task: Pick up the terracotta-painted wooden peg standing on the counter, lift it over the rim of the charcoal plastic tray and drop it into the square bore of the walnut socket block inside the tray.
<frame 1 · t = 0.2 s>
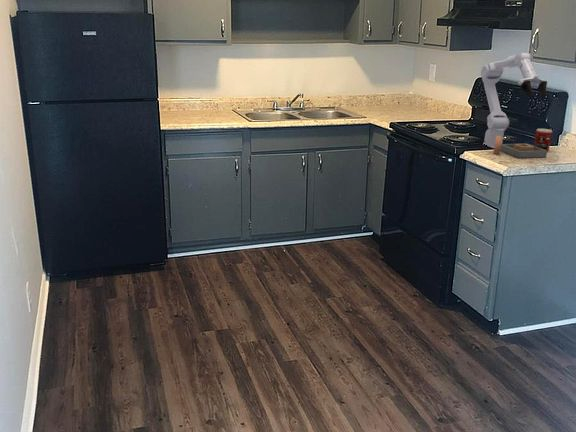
hand: (538, 96, 279), 31 cm above the worktop, tool tilted 45°, fingers open, 7 cm apart
peg: (496, 154, 297), on the worktop
canned food: (540, 150, 309), on the worktop
tray: (522, 154, 299), on the worktop
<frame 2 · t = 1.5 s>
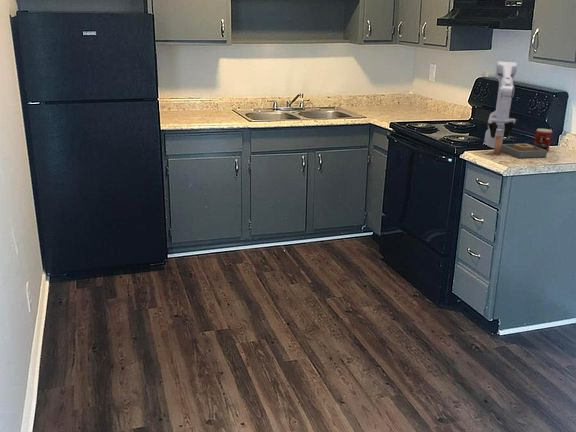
hand: (499, 137, 294), 9 cm above the worktop, tool pointing down, fingers open, 7 cm apart
nothing on the worktop moved.
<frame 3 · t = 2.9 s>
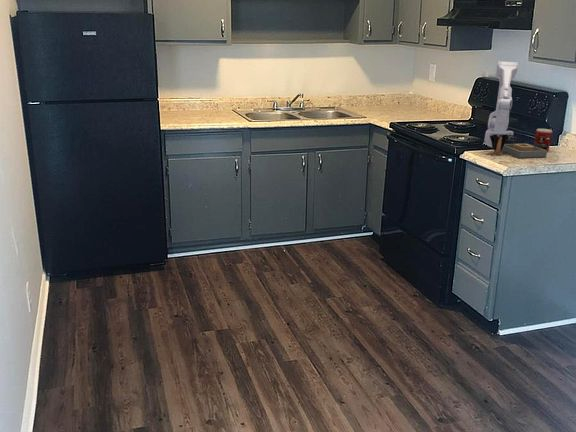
hand: (497, 149, 296), 2 cm above the worktop, tool pointing down, fingers closed on peg, 3 cm apart
peg: (496, 154, 297), on the worktop, touching gripper
everything else where it was.
when the fingers open (6 cm above the worktop, at t = 6.2 s): peg drops 3 cm, resting on tray.
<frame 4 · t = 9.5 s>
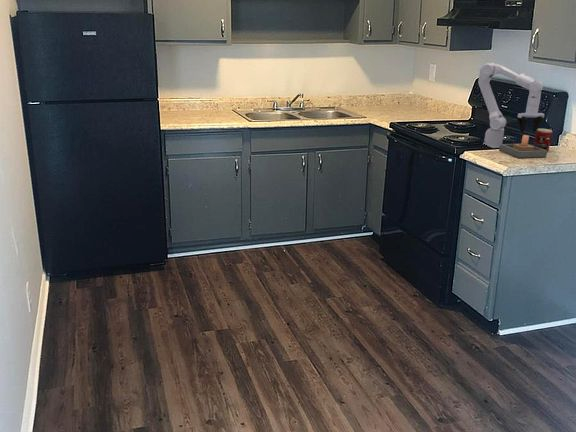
hand: (528, 131, 303), 10 cm above the worktop, tool pointing down, fingers open, 7 cm apart
peg: (522, 153, 299), point 1 cm above the worktop, touching tray
everything else where it was.
at the end: peg 0.1 cm off-centre on the tray, point 0.6 cm above the tray's base; peg tilted 1°; the gripper is holding nothing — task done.
